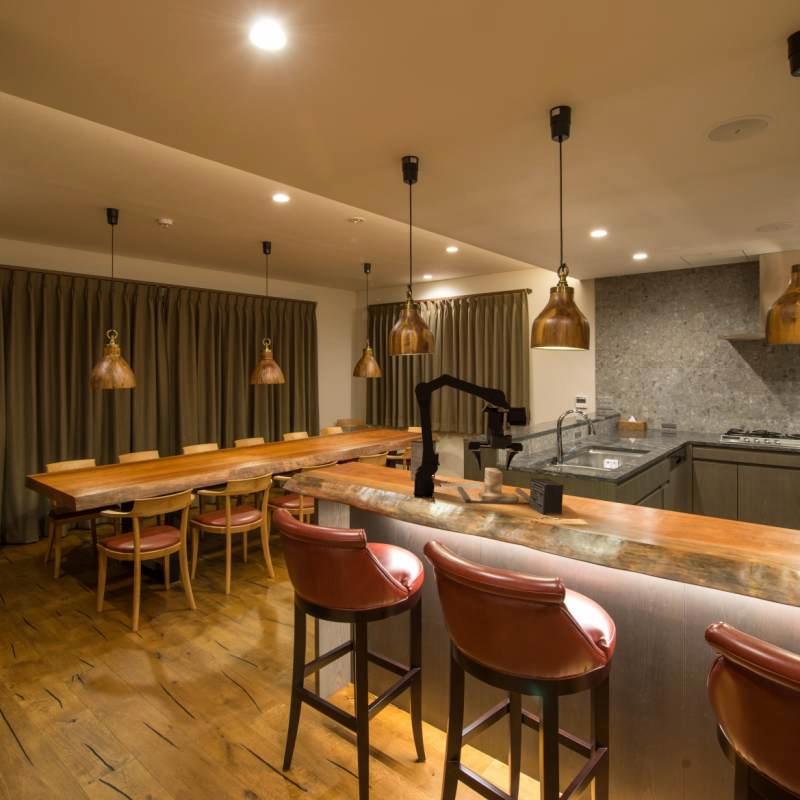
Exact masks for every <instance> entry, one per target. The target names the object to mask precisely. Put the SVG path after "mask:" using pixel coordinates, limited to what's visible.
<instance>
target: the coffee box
mask: <svg viewBox="0 0 800 800" xmlns="http://www.w3.org/2000/svg"><path fill="white" fill-rule="evenodd" d="M410 444H411V445H410V447H411V448H410V480H411V479H414V477H416V476H415V472H416V469H418V468H419V467H420V466H421V465H422V455H423V442H422V439H413V440H411V443H410ZM436 444H437V440H436V439H435V440H434V439H433V448H434V451H435V452H437V450H436V448H437V445H436ZM432 478H433V480H435V479H436V473H435V474H434V476H432ZM434 478H435V479H434Z"/></svg>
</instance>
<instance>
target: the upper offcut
mask: <svg viewBox="0 0 800 800" xmlns="http://www.w3.org/2000/svg"><path fill="white" fill-rule="evenodd" d="M519 497H520V495H518V494H516V493H511V492H509V493H508V492H504V493H503V492H502V493H485V492H478V501H516V502H520V501H519Z"/></svg>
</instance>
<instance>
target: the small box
mask: <svg viewBox="0 0 800 800" xmlns="http://www.w3.org/2000/svg"><path fill="white" fill-rule="evenodd" d="M529 488H530V490H529V496H530V505H529V508H530V509H533V510H534V511H535V512H537V513H539V514H541V515H543V518H548V517H547V516H552V515H553V516H554V515H555V516H556V515H561V516H562V515H563V498H564V484H562V483H559V482H557V481H554V480H552V479H550V478H538V477H537V478H532V477H531V478H530V487H529ZM544 516H546V517H544Z"/></svg>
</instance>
